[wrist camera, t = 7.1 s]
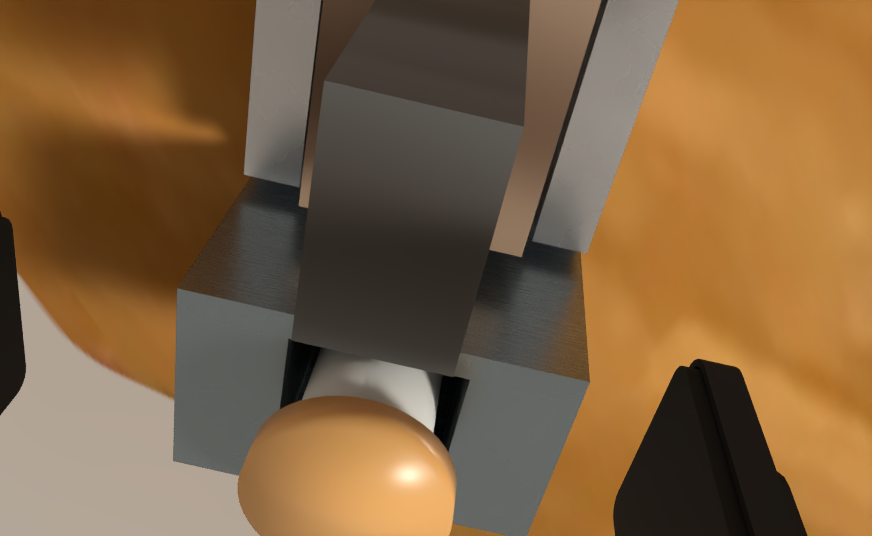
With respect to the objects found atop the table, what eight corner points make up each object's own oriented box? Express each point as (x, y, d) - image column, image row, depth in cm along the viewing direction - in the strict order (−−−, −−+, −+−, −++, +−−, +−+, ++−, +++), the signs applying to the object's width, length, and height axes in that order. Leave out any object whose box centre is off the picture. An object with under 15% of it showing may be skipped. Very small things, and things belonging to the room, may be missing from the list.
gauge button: (328, 218, 24) (244, 405, 17) (493, 256, 24) (474, 456, 17) (309, 347, 27) (231, 550, 20) (457, 381, 27) (429, 594, 20)
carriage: (364, -141, 19) (229, -49, 11) (609, -83, 19) (658, 52, 11) (324, 156, 24) (206, 383, 15) (523, 203, 24) (513, 451, 16)
